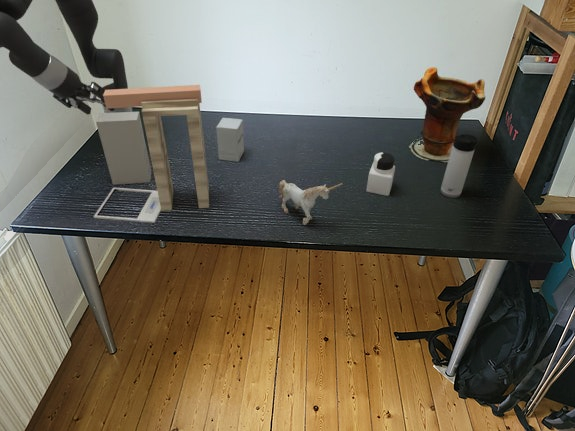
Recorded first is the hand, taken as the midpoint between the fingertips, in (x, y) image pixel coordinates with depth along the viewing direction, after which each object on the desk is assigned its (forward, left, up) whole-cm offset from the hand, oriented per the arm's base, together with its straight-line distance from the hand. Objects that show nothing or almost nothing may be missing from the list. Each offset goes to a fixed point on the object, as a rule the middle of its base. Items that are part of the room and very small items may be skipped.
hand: (101, 110), depth 127 cm
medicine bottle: (+8, +81, -27) cm, 86 cm away
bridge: (+7, +20, -27) cm, 34 cm away
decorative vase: (-13, +108, -27) cm, 112 cm away
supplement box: (-17, +35, -27) cm, 47 cm away
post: (-6, +2, -27) cm, 28 cm away
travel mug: (+13, +103, -27) cm, 107 cm away
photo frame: (+8, +4, -28) cm, 29 cm away
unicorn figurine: (+18, +56, -27) cm, 65 cm away
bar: (+8, +16, +5) cm, 18 cm away
